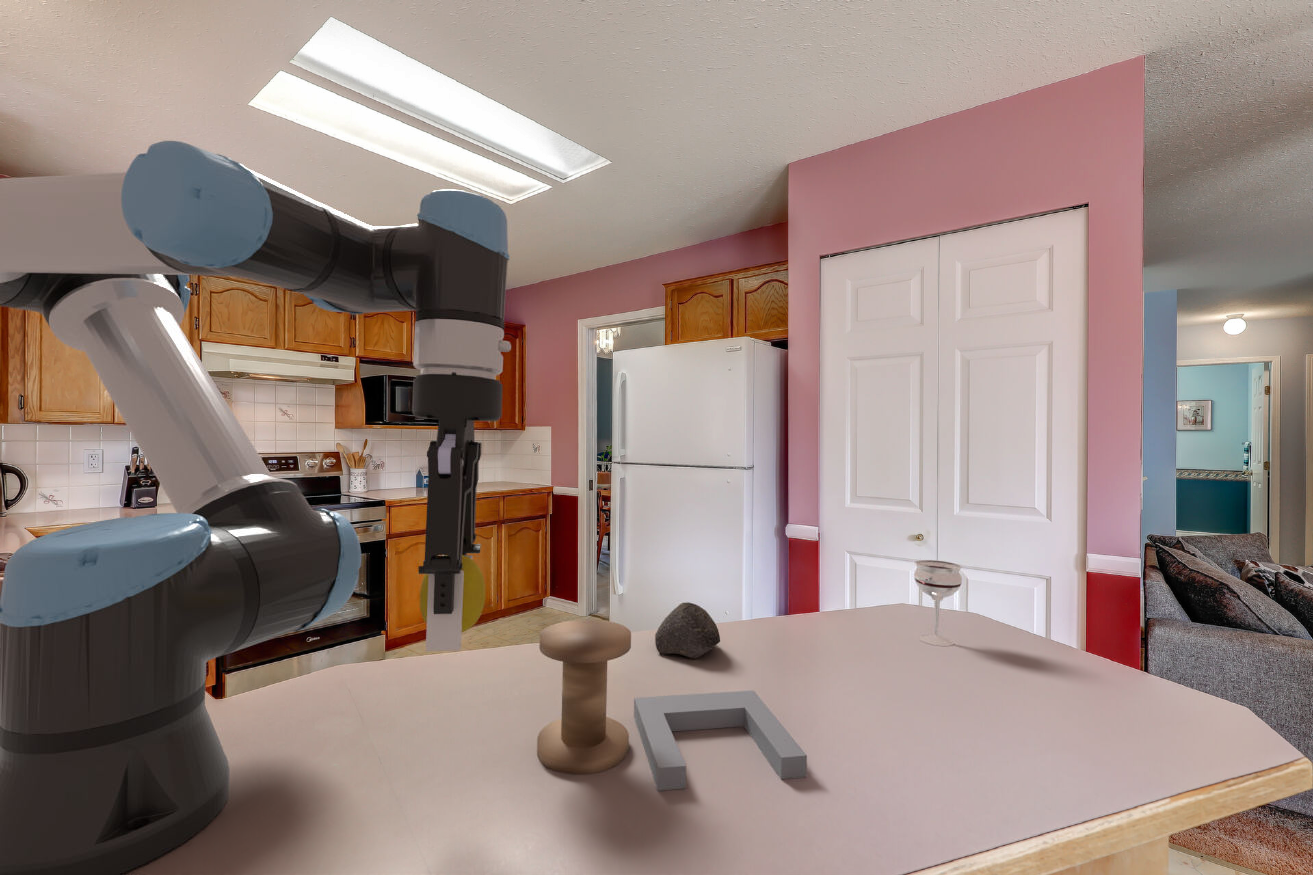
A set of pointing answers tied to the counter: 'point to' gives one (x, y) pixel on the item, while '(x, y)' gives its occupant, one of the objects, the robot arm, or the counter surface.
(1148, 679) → the counter surface
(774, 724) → the notch board
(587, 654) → the bobbin
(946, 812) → the counter surface
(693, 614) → the stone
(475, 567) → the lemon
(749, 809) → the counter surface
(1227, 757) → the counter surface
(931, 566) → the wineglass
